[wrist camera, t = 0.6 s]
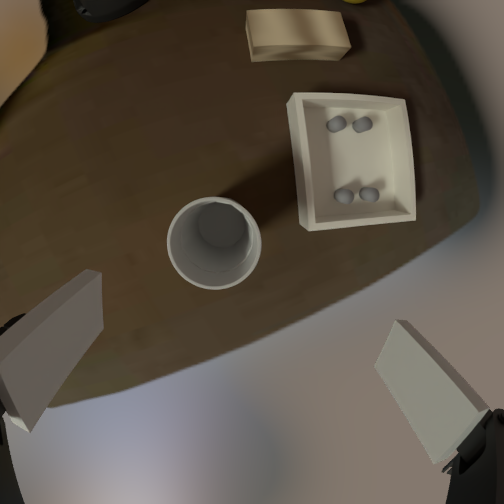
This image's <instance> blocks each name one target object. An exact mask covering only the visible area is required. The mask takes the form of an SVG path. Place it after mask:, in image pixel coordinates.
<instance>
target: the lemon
mask: <svg viewBox="0 0 504 504" xmlns="http://www.w3.org/2000/svg"><path fill="white" fill-rule="evenodd" d="M343 1H345V2H348V3H352V4H359V3H362V2H364V1H366V0H343Z"/></svg>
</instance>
